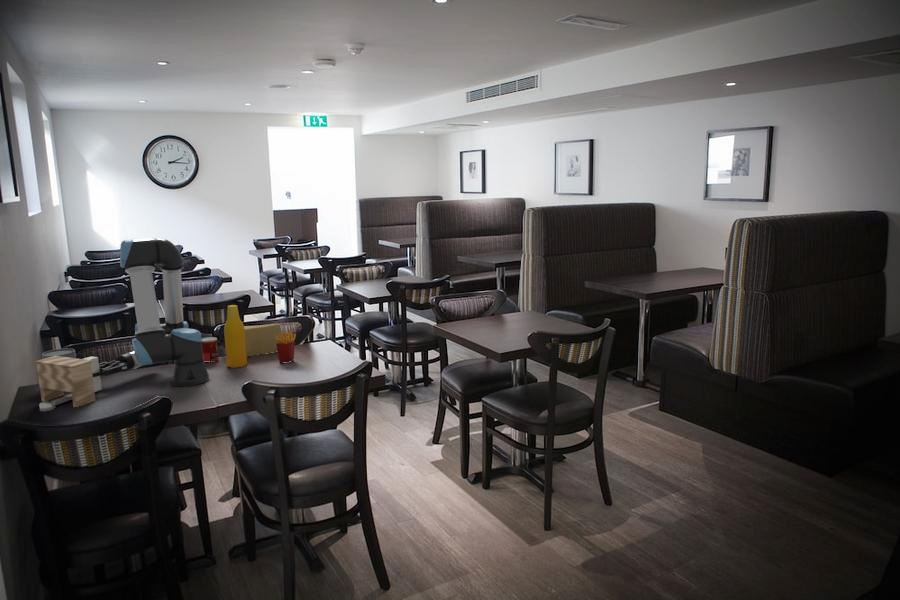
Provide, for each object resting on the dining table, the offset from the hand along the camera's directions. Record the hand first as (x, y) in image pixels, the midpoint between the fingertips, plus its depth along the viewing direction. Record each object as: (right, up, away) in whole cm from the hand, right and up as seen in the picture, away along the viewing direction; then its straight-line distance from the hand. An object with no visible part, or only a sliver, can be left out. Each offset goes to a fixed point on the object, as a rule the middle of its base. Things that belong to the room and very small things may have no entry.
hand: (80, 376), depth 247 cm
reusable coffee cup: (-17, -6, +15) cm, 23 cm away
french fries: (+71, +1, +49) cm, 86 cm away
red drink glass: (+33, +1, +51) cm, 61 cm away
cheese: (+55, +4, +62) cm, 83 cm away
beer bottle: (+49, 0, +42) cm, 65 cm away
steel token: (-5, -11, -13) cm, 17 cm away
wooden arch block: (-1, -8, -1) cm, 8 cm away
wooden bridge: (-2, -9, -4) cm, 10 cm away
